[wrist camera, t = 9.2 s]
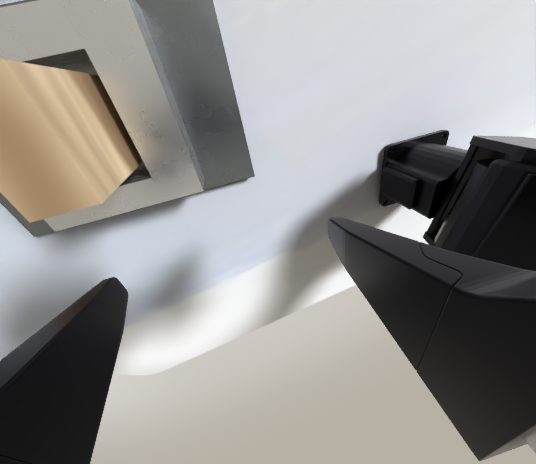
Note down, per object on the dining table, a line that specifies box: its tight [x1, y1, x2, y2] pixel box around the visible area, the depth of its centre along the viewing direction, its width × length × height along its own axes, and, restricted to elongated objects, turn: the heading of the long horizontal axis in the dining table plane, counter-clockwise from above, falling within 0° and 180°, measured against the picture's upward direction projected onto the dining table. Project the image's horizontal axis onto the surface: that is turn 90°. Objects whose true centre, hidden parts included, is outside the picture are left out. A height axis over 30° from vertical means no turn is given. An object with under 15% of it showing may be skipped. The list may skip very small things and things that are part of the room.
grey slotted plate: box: [0, 0, 254, 236], centre depth 14 cm, size 18×12×4 cm, turn 102°
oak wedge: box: [0, 59, 143, 223], centre depth 11 cm, size 3×5×8 cm, turn 12°
